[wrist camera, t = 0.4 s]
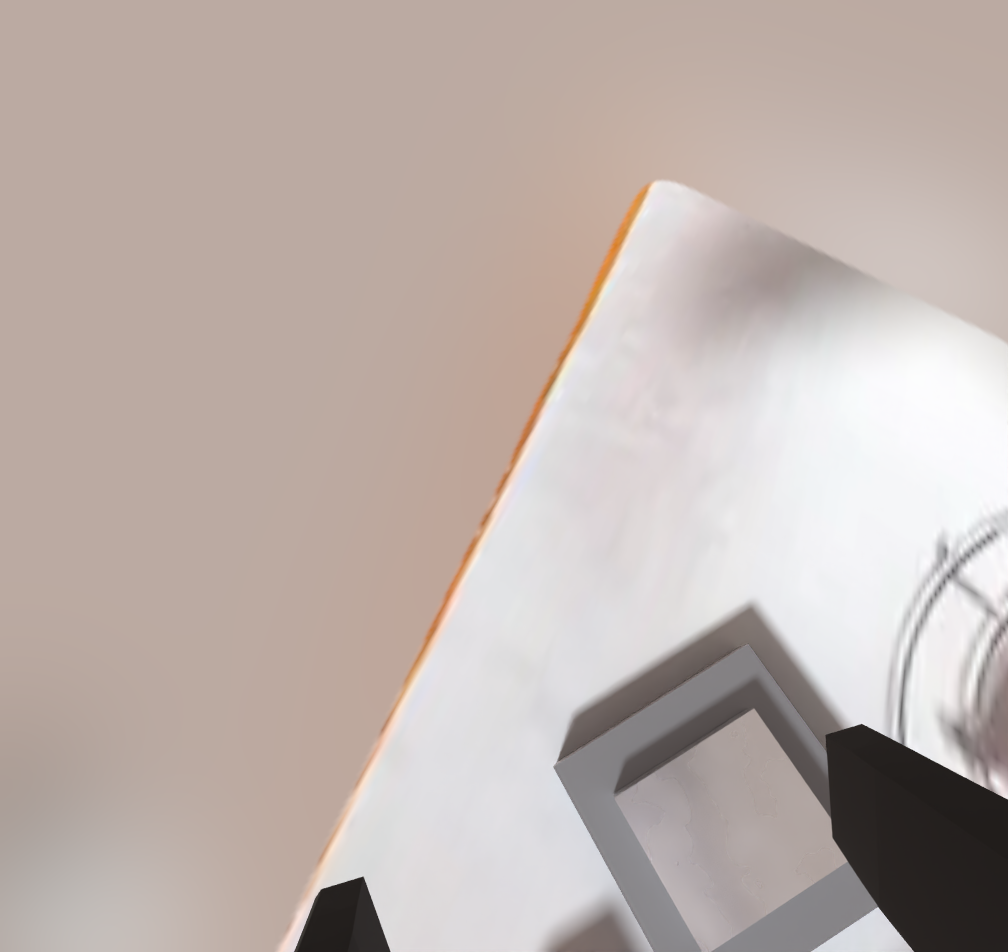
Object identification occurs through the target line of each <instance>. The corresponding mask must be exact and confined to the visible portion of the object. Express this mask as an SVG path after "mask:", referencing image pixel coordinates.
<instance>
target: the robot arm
mask: <svg viewBox="0 0 1008 952" xmlns="http://www.w3.org/2000/svg"><path fill="white" fill-rule="evenodd" d="M826 748H827V763H828V779H829V794H830V809H831V825H832V838H833V839H834V841H835V843H836V844H837V846H838V847H839V849H840V850H841V852H842V853H843V855H844V856H845V858H846V859H847V861H848V863H849V864H850V866H851V867H852V869H853V870H854V872H855V873H856V875H857V876H858V878H859V879H860V881H861V882H862V884H863V885H864V887H865V888H866V890H867V891H868V892H869V894H870V895H871V897H872V898H873V900H874V901H875V903H876V904H877V906H878V907H879V909H880V910H881V911H882V912H883V914H884V915H885V916H886V917H887V919H888V920H889V921H890V922H891V924H892V925H893V926H894V927H895V929H896V930H897V931H898V932H899V934H900V935H901V936H902V937H903V939H904V940H905V941H906V942H907V943H908V945H909V946H910V947H911V948H912V950H913V951H914V952H1008V799H1006V798H1004V797H1002V796H1000V795H998V794H996V793H994V792H992V791H990V790H988V789H986V788H984V787H982V786H980V785H978V784H976V783H974V782H972V781H970V780H969V779H967V778H965V777H963V776H961V775H959V774H957V773H955V772H953V771H951V770H949V769H948V768H946V767H944V766H942V765H940V764H938V763H936V762H934V761H932V760H930V759H928V758H927V757H925V756H923V755H921V754H919V753H917V752H915V751H913V750H911V749H909V748H908V747H906V746H904V745H902V744H900V743H898V742H896V741H894V740H892V739H890V738H888V737H886V736H885V735H883V734H881V733H879V732H877V731H875V730H873V729H871V728H869V727H867V726H865V725H863V724H860V725H857V726H854V727H850V728H847V729H844V730H841V731H837V732H834V733H831V734H828V735H826ZM294 952H390V949H389V946H388V944H387V941H386V938H385V935H384V932H383V930H382V927H381V924H380V921H379V918H378V916H377V913H376V910H375V907H374V905H373V902H372V899H371V896H370V893H369V891H368V888H367V885H366V882H365V879H364V877H360V878H357V879H354V880H350V881H347V882H344V883H341V884H337V885H334V886H331V887H328V888H324V889H321V891H320V892H319V894H318V895H317V897H316V898H315V901H314V903H313V906H312V908H311V911H310V913H309V916H308V919H307V921H306V924H305V926H304V929H303V931H302V934H301V936H300V939H299V941H298V944H297V946H296V949H295V951H294Z"/></svg>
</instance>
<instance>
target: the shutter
mask: <svg viewBox="0 0 1008 952" xmlns="http://www.w3.org/2000/svg"><path fill="white" fill-rule="evenodd" d="M614 799H615V801H616V802H617V804H618V806H619V808H620V809H621V811H622V813H623V815H624V816H625V818H626V820H627V822H628V823H629V825H630V827H631V829H632V830H633V832H634V834H635V836H636V837H637V839H638V841H639V843H640V844H641V846H642V848H643V850H644V851H645V853H646V855H647V857H648V858H649V860H650V862H651V864H652V865H653V867H654V869H655V871H656V872H657V874H658V876H659V878H660V879H661V881H662V883H663V885H664V886H665V888H666V890H667V892H668V893H669V895H670V897H671V899H672V900H673V902H674V904H675V906H676V907H677V909H678V911H679V913H680V914H681V916H682V918H683V920H684V921H685V923H686V925H687V927H688V928H689V930H690V932H691V934H692V935H693V937H694V939H695V941H696V942H697V944H698V946H699V948H700V949H701V951H702V952H712V951H713V950H715V949H716V948H718V947H719V946H721V945H722V944H724V943H725V942H727V941H728V940H730V939H731V938H733V937H734V936H736V935H737V934H739V933H740V932H742V931H743V930H745V929H746V928H748V927H749V926H751V925H752V924H754V923H755V922H757V921H758V920H760V919H762V918H763V917H765V916H766V915H768V914H769V913H771V912H772V911H774V910H775V909H777V908H778V907H780V906H781V905H783V904H784V903H786V902H787V901H789V900H790V899H792V898H793V897H795V896H796V895H798V894H799V893H801V892H802V891H804V890H805V889H807V888H808V887H810V886H812V885H813V884H815V883H816V882H818V881H819V880H821V879H822V878H824V877H825V876H827V875H828V874H830V873H831V872H833V871H834V870H836V869H837V868H839V867H840V866H842V865H843V864H845V863H846V862H848V861H847V859H846V858H845V856H844V855H843V853H842V852H841V850H840V849H839V847H838V846H837V844H836V843H835V841H834V839H833V838H832V825H831V818H830V817H829V815H828V814H827V812H826V811H825V809H824V808H823V807H822V805H821V804H820V802H819V801H818V799H817V798H816V796H815V795H814V794H813V792H812V791H811V789H810V788H809V786H808V785H807V784H806V782H805V781H804V779H803V778H802V776H801V775H800V773H799V772H798V771H797V769H796V768H795V766H794V765H793V763H792V762H791V761H790V759H789V758H788V756H787V755H786V753H785V752H784V751H783V749H782V748H781V746H780V745H779V743H778V742H777V740H776V739H775V738H774V736H773V735H772V733H771V732H770V730H769V729H768V728H767V726H766V725H765V723H764V722H763V720H762V719H761V718H760V716H759V715H758V713H757V712H756V710H755V709H754V708H747V709H745V710H744V711H742V712H741V713H739V714H737V715H736V716H734V717H733V718H731V719H730V720H728V721H726V722H725V723H723V724H722V725H720V726H719V727H717V728H715V729H714V730H712V731H711V732H709V733H708V734H706V735H704V736H703V737H701V738H700V739H698V740H697V741H695V742H694V743H692V744H690V745H689V746H687V747H686V748H684V749H683V750H681V751H679V752H678V753H676V754H675V755H673V756H672V757H670V758H668V759H667V760H665V761H664V762H662V763H661V764H659V765H657V766H656V767H654V768H653V769H651V770H650V771H648V772H647V773H645V774H643V775H642V776H640V777H639V778H637V779H636V780H634V781H632V782H631V783H629V784H628V785H626V786H625V787H623V788H621V789H620V790H618V791H617V792H615V793H614Z"/></svg>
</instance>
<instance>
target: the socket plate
mask: <svg viewBox="0 0 1008 952" xmlns="http://www.w3.org/2000/svg"><path fill="white" fill-rule="evenodd" d="M747 708H754V709H755V710H756V712H757V713H758V715H759V716H760V718H761V719H762V720H763V722H764V723H765V725H766V726H767V728H768V729H769V730H770V732H771V733H772V735H773V736H774V738H775V739H776V740H777V742H778V743H779V745H780V746H781V748H782V749H783V751H784V752H785V753H786V755H787V756H788V758H789V759H790V761H791V762H792V763H793V765H794V766H795V768H796V769H797V771H798V772H799V773H800V775H801V776H802V778H803V779H804V781H805V782H806V784H807V785H808V786H809V788H810V789H811V791H812V792H813V794H814V795H815V796H816V798H817V799H818V801H819V802H820V804H821V805H822V807H823V808H824V809H825V811H826V812H827V814H828V815H829V817H830V818H831V809H830V794H829V779H828V763H827V752H826V750H825V749H824V748H823V746H822V745H821V743H820V742H819V741H818V739H817V738H816V737H815V735H814V734H813V732H812V731H811V730H810V728H809V727H808V726H807V724H806V723H805V721H804V720H803V719H802V717H801V716H800V714H799V713H798V712H797V710H796V709H795V708H794V706H793V705H792V703H791V702H790V701H789V699H788V698H787V696H786V695H785V694H784V692H783V691H782V690H781V688H780V687H779V685H778V684H777V683H776V681H775V680H774V679H773V677H772V676H771V674H770V673H769V672H768V670H767V669H766V667H765V666H764V665H763V663H762V662H761V661H760V659H759V658H758V656H757V655H756V654H755V652H754V651H753V649H752V648H751V647H750V645H749V644H746V645H744V646H741V647H739V648H737V649H735V650H734V651H732V652H731V653H729V654H727V655H726V656H724V657H723V658H721V659H720V660H718V661H716V662H715V663H713V664H712V665H710V666H708V667H707V668H705V669H704V670H702V671H701V672H699V673H697V674H696V675H694V676H693V677H691V678H689V679H688V680H686V681H685V682H683V683H682V684H680V685H678V686H677V687H675V688H674V689H672V690H670V691H669V692H667V693H666V694H664V695H663V696H661V697H659V698H658V699H656V700H655V701H653V702H651V703H650V704H648V705H647V706H645V707H644V708H642V709H640V710H639V711H637V712H636V713H634V714H632V715H631V716H629V717H628V718H626V719H625V720H623V721H621V722H620V723H618V724H617V725H615V726H613V727H612V728H610V729H609V730H607V731H606V732H604V733H602V734H601V735H599V736H598V737H596V738H594V739H593V740H591V741H590V742H588V743H587V744H585V745H583V746H582V747H580V748H579V749H577V750H575V751H574V752H572V753H571V754H569V755H568V756H566V757H564V758H563V759H561V760H560V761H558V762H557V763H556V764H555V765H554V766H553V767H554V769H555V771H556V773H557V775H558V776H559V778H560V780H561V782H562V784H563V786H564V787H565V789H566V791H567V793H568V795H569V797H570V798H571V800H572V802H573V804H574V806H575V808H576V809H577V811H578V813H579V815H580V817H581V819H582V820H583V822H584V824H585V826H586V828H587V830H588V831H589V833H590V835H591V837H592V839H593V841H594V843H595V844H596V846H597V848H598V850H599V852H600V854H601V855H602V857H603V859H604V861H605V863H606V865H607V866H608V868H609V870H610V872H611V874H612V876H613V877H614V879H615V881H616V883H617V885H618V887H619V888H620V890H621V892H622V894H623V896H624V898H625V899H626V901H627V903H628V905H629V907H630V909H631V910H632V912H633V914H634V916H635V918H636V920H637V922H638V923H639V925H640V927H641V929H642V931H643V933H644V934H645V936H646V938H647V940H648V942H649V944H650V945H651V947H652V949H653V951H654V952H702V951H701V949H700V948H699V946H698V944H697V942H696V941H695V939H694V937H693V935H692V934H691V932H690V930H689V928H688V927H687V925H686V923H685V921H684V920H683V918H682V916H681V914H680V913H679V911H678V909H677V907H676V906H675V904H674V902H673V900H672V899H671V897H670V895H669V893H668V892H667V890H666V888H665V886H664V885H663V883H662V881H661V879H660V878H659V876H658V874H657V872H656V871H655V869H654V867H653V865H652V864H651V862H650V860H649V858H648V857H647V855H646V853H645V851H644V850H643V848H642V846H641V844H640V843H639V841H638V839H637V837H636V836H635V834H634V832H633V830H632V829H631V827H630V825H629V823H628V822H627V820H626V818H625V816H624V815H623V813H622V811H621V809H620V808H619V806H618V804H617V802H616V801H615V799H614V793H615V792H617V791H618V790H620V789H621V788H623V787H625V786H626V785H628V784H629V783H631V782H632V781H634V780H636V779H637V778H639V777H640V776H642V775H643V774H645V773H647V772H648V771H650V770H651V769H653V768H654V767H656V766H657V765H659V764H661V763H662V762H664V761H665V760H667V759H668V758H670V757H672V756H673V755H675V754H676V753H678V752H679V751H681V750H683V749H684V748H686V747H687V746H689V745H690V744H692V743H694V742H695V741H697V740H698V739H700V738H701V737H703V736H704V735H706V734H708V733H709V732H711V731H712V730H714V729H715V728H717V727H719V726H720V725H722V724H723V723H725V722H726V721H728V720H730V719H731V718H733V717H734V716H736V715H737V714H739V713H741V712H742V711H744V710H745V709H747ZM877 907H878V906H877V904H876V903H875V901H874V900H873V898H872V897H871V895H870V894H869V892H868V891H867V890H866V888H865V887H864V885H863V884H862V882H861V881H860V879H859V878H858V876H857V875H856V873H855V872H854V870H853V869H852V867H851V866H850V864H849V863H848V862H846V863H845V864H843V865H842V866H840V867H839V868H837V869H836V870H834V871H833V872H831V873H830V874H828V875H827V876H825V877H824V878H822V879H821V880H819V881H818V882H816V883H815V884H813V885H812V886H810V887H808V888H807V889H805V890H804V891H802V892H801V893H799V894H798V895H796V896H795V897H793V898H792V899H790V900H789V901H787V902H786V903H784V904H783V905H781V906H780V907H778V908H777V909H775V910H774V911H772V912H771V913H769V914H768V915H766V916H765V917H763V918H762V919H760V920H758V921H757V922H755V923H754V924H752V925H751V926H749V927H748V928H746V929H745V930H743V931H742V932H740V933H739V934H737V935H736V936H734V937H733V938H731V939H730V940H728V941H727V942H725V943H724V944H722V945H721V946H719V947H718V948H716V949H715V950H713V951H712V952H811V951H812V950H814V949H815V948H817V947H818V946H820V945H821V944H823V943H824V942H826V941H827V940H829V939H830V938H832V937H833V936H835V935H836V934H838V933H839V932H841V931H842V930H844V929H845V928H847V927H848V926H850V925H851V924H853V923H854V922H856V921H857V920H859V919H860V918H862V917H863V916H865V915H866V914H868V913H869V912H871V911H872V910H874V909H875V908H877Z"/></svg>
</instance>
